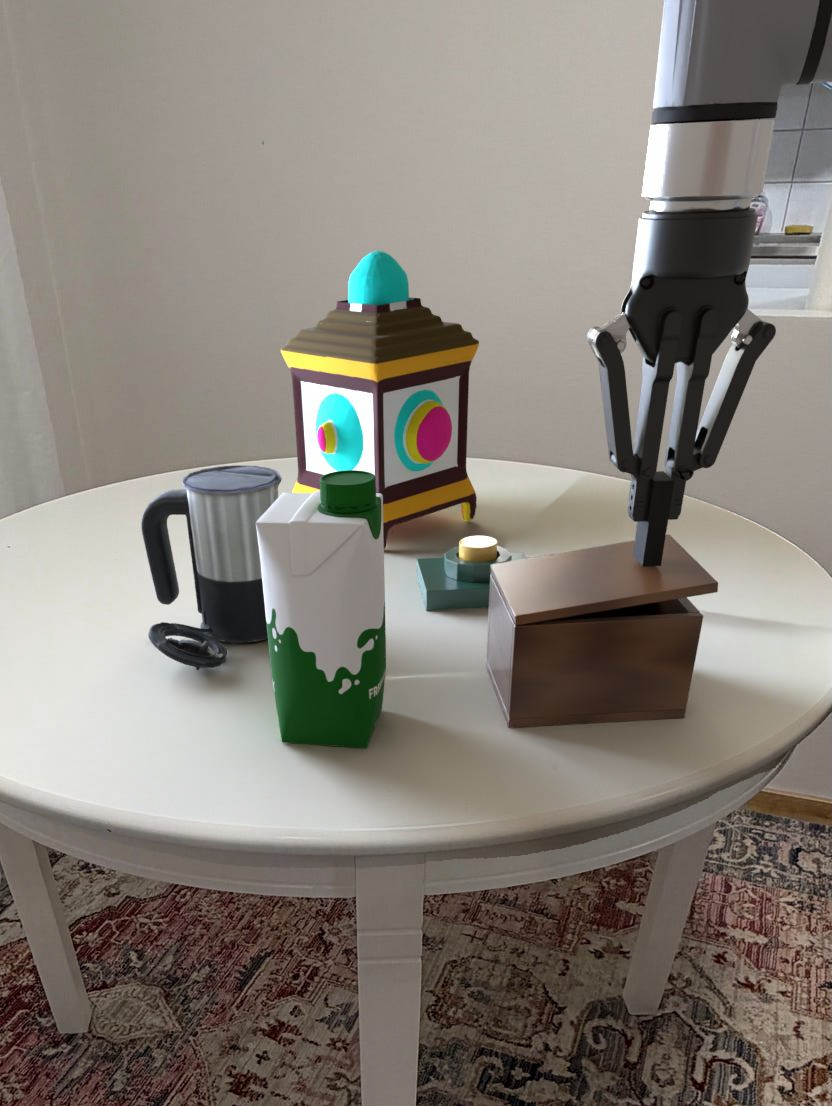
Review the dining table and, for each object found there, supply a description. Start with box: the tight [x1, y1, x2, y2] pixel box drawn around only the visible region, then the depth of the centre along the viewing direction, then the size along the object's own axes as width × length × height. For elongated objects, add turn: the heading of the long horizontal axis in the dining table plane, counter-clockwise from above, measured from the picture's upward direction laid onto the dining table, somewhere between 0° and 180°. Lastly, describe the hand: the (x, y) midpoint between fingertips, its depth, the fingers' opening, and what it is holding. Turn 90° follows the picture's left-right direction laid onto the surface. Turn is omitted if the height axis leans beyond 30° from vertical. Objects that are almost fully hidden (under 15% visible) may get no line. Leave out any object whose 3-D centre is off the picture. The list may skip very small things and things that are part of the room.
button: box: [458, 535, 499, 562], centre depth 100 cm, size 4×4×2 cm
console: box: [416, 545, 527, 612], centre depth 102 cm, size 12×10×4 cm
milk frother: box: [140, 465, 283, 671], centre depth 90 cm, size 14×16×15 cm
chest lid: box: [490, 534, 719, 625], centre depth 77 cm, size 15×12×1 cm
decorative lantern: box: [280, 250, 480, 551], centre depth 115 cm, size 20×20×30 cm
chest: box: [485, 574, 704, 729], centre depth 80 cm, size 15×12×9 cm
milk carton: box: [256, 470, 387, 749], centre depth 74 cm, size 9×9×20 cm
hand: (646, 560), depth 76 cm, fingers closed
